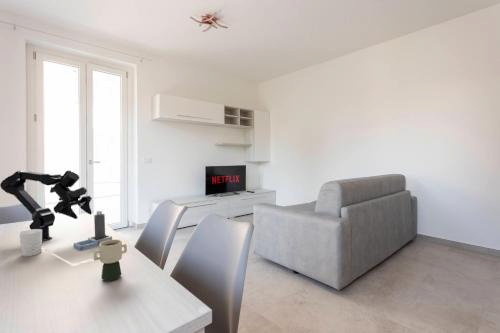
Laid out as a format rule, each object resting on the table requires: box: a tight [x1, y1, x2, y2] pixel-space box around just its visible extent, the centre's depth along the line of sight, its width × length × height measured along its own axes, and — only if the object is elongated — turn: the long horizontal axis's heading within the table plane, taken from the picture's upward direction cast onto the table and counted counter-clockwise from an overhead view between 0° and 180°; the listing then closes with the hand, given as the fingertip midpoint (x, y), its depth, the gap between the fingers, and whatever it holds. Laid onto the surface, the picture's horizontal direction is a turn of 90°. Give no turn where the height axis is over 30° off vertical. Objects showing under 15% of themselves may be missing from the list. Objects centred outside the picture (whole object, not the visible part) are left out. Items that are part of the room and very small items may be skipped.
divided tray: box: [73, 233, 113, 251], centre depth 129 cm, size 11×16×2 cm
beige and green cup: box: [92, 239, 128, 281], centre depth 93 cm, size 11×7×13 cm, turn 135°
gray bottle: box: [93, 209, 106, 240], centre depth 132 cm, size 4×4×15 cm
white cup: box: [18, 229, 43, 257], centre depth 117 cm, size 8×8×10 cm
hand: (84, 216), depth 133 cm, fingers open, 9 cm apart
